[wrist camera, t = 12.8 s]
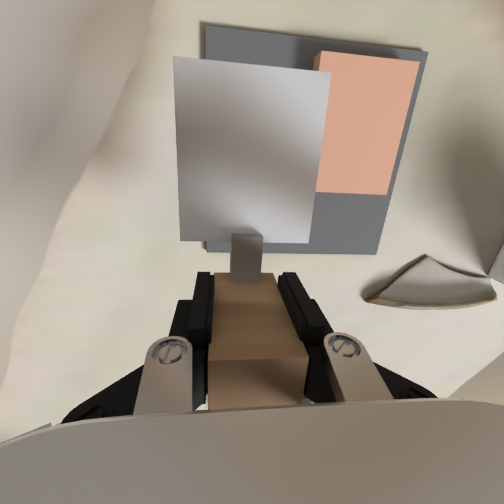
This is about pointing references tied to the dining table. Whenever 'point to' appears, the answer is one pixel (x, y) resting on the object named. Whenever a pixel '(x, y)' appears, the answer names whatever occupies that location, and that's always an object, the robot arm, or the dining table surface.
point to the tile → (362, 120)
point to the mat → (325, 203)
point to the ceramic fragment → (435, 288)
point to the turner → (249, 211)
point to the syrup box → (498, 267)
